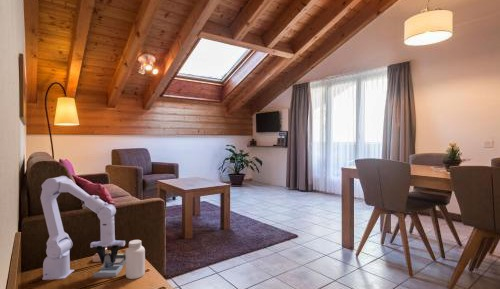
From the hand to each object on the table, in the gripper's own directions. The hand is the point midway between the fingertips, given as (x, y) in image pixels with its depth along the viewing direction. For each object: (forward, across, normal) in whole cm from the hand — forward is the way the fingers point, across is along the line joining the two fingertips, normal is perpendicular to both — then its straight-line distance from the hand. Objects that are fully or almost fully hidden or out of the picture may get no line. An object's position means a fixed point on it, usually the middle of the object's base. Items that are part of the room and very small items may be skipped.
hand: (108, 262), depth 128 cm
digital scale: (+5, 0, +10) cm, 11 cm away
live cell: (+2, 0, 0) cm, 2 cm away
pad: (+4, 0, +9) cm, 10 cm away
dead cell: (+5, -10, +16) cm, 19 cm away
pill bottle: (+5, +13, -3) cm, 14 cm away
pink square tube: (+5, -10, +16) cm, 19 cm away
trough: (+5, 0, 0) cm, 5 cm away
